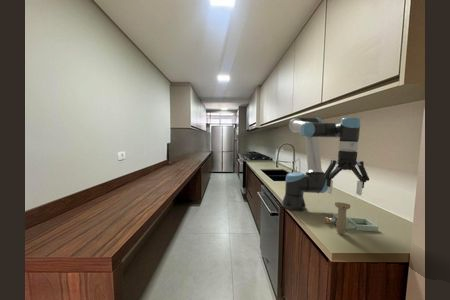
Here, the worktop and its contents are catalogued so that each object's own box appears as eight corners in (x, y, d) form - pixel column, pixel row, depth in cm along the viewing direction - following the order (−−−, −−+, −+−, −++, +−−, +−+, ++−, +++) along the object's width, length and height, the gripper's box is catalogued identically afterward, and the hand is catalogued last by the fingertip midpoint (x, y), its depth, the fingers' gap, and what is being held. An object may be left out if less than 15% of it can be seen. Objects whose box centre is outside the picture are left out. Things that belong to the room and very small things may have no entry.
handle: (332, 229, 95) (334, 201, 94) (346, 232, 93) (348, 203, 92) (334, 234, 90) (336, 205, 89) (349, 237, 88) (351, 206, 87)
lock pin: (324, 221, 102) (324, 215, 102) (337, 222, 102) (337, 216, 102) (327, 224, 99) (327, 218, 99) (340, 224, 99) (341, 219, 99)
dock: (331, 220, 105) (332, 212, 105) (365, 222, 104) (365, 214, 104) (341, 229, 96) (341, 220, 95) (377, 231, 94) (378, 222, 94)
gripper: (324, 150, 84) (321, 195, 86) (381, 152, 82) (377, 197, 84) (317, 149, 91) (314, 190, 93) (369, 150, 90) (365, 192, 92)
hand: (344, 193), depth 89 cm, fingers open, 13 cm apart
